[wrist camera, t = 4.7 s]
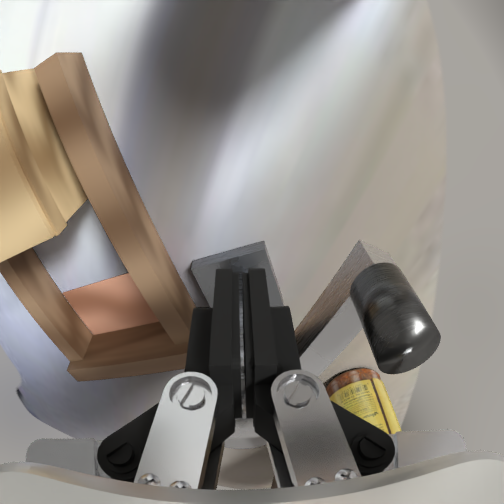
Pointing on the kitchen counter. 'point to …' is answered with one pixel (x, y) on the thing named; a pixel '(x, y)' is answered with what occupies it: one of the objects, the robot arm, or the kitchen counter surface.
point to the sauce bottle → (364, 398)
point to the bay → (124, 241)
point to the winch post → (240, 264)
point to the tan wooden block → (32, 168)
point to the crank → (359, 324)
